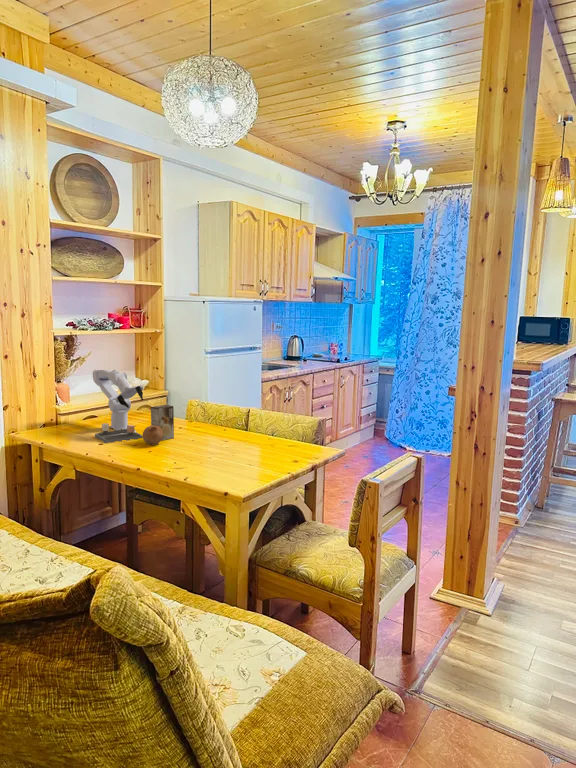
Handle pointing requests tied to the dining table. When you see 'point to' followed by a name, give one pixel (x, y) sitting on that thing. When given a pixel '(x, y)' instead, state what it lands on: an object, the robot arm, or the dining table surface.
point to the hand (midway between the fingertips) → (135, 402)
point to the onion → (152, 435)
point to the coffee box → (163, 420)
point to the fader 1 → (105, 428)
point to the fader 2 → (130, 429)
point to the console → (117, 436)
